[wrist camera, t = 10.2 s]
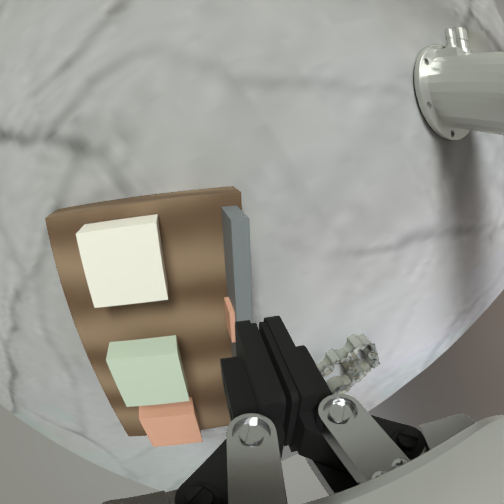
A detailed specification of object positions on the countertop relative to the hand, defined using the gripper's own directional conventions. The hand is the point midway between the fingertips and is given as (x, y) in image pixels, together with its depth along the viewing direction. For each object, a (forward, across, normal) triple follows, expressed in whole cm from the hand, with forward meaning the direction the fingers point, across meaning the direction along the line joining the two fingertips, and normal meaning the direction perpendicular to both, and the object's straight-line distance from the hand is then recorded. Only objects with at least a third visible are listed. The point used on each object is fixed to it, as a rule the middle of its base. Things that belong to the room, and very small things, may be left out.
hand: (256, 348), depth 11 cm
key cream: (+13, +7, +1) cm, 15 cm away
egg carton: (+17, -15, +21) cm, 31 cm away
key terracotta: (+13, +7, +21) cm, 26 cm away
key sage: (+12, +7, +11) cm, 18 cm away
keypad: (+16, +6, +11) cm, 21 cm away
